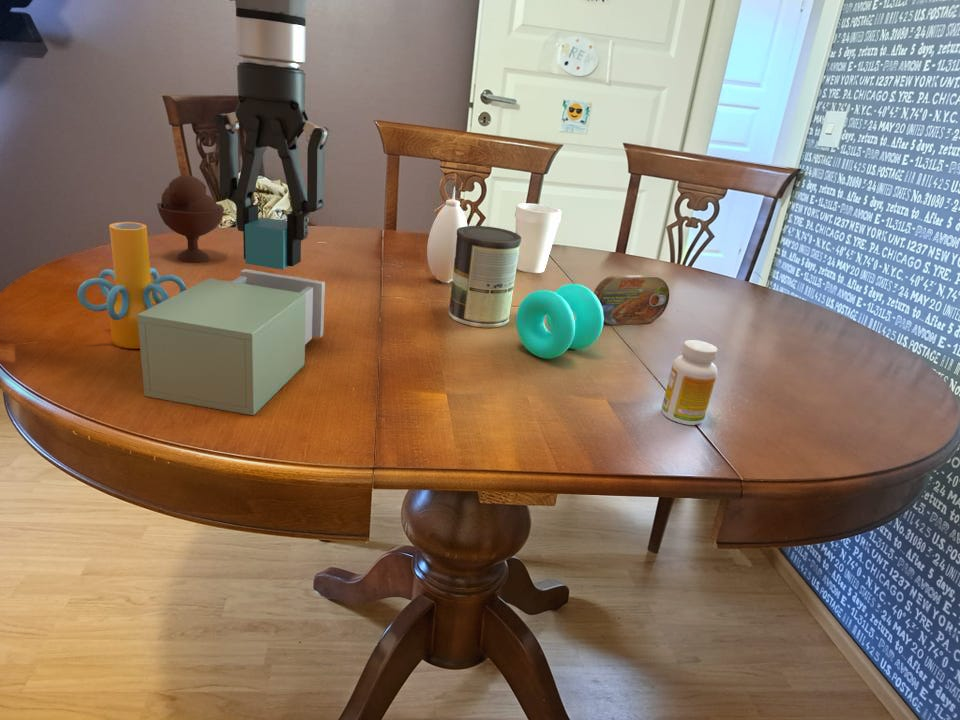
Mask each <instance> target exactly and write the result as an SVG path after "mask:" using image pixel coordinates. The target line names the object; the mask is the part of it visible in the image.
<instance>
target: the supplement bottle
mask: <svg viewBox="0 0 960 720" xmlns="http://www.w3.org/2000/svg"><path fill="white" fill-rule="evenodd" d="M682 345H683V346H682V349H681V354H682V355H679V356H677V357H676V358H675V359H674V360H673V362H672V365H671V369H670V372H669V377H668V381H667V385H666V389H665V392H664V396H663V401H662V404H661V412H662V414H663V416H664V417H666V418H667V419H669V420H671V421H672V422H675V423H679V424H683V425H687V426H695V425H699V424H701V423H703V422H704V420H705V418H706V414H707V412H708V408H709V404H710V400H711V397H712V394H713V390H714V386H715V383H716V379H717V375H718V367H717V365H715V364H714V361H715V360H716V357H717V353H718V348H717V347H716V346H715V345H713V344H711V343H709V342H706V341H702V340H697V339H687V340H685V341H684V342H683V344H682Z"/></svg>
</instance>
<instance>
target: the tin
mask: <svg viewBox="0 0 960 720" xmlns="http://www.w3.org/2000/svg"><path fill="white" fill-rule="evenodd" d="M593 293H594V294H595V295H596V297H597V298H598V300H599V301H600V304H601V306H602V310H603V316H604V322H603V323H605V324H608V325H609V326H621V325H637V324H638V325H639V324H650V323H653V322H654V321H656V320H658V319H659V318H660V317H661V316H662V315H663V314H664V312H665V311H666V309H667V307H668V305H669V301H670V289H669V285H668V284H667V283H666V281H665V280H664V279H662V278H661V277H659V276H654V275H650V274H635V275H611V276H608V277H605V278H604V279H603V280H601V281H600V282H598V284H597V285H596V287H595V289H594V291H593Z"/></svg>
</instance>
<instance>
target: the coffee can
mask: <svg viewBox="0 0 960 720" xmlns="http://www.w3.org/2000/svg"><path fill="white" fill-rule="evenodd" d="M521 239H522V238H521V236H520V235H518V234H516V232H514V231H511V230H508V229H505V228H501V227H494V226H485V225H467V226H464V227H460V228H458V229H457V241H456V251H455V260H454V270H453V280H452V281H451V290H450V298H449V309H448V316H449V318H451V319H452V320H454V321H455V322H457V323H460V324H461V325H465V326H470V327H473V328H474V327H475V328H486V329H489V328H500V327H503V326H505V325H507V324H508V323H509V322H510V315H511V314H510V313H511V307H512V300H513V294H514V288H515V287H514V286H515V281H516V272H517V268H516V267H517V260H518V253H519V246H520V243H521Z"/></svg>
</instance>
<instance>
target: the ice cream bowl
mask: <svg viewBox="0 0 960 720" xmlns="http://www.w3.org/2000/svg"><path fill="white" fill-rule="evenodd" d="M156 207H157V210H158V213H159V216H160V218H161V219H162V222H163V223H164V224H165V225H166V226H167V227H168V228H169V229H170V230H171V231H173V232H174V233H176V234H178V235H181V236H183V237H185V238H186V240H187V248H186V249H185V250H182V251H181V252H179V253H178V254H177V256H176V258H177V260H178V261H181V262H184V263H196V264H197V263H202V262H203V263H204V262H207V261H209V260H210V257H209V254H208V253H207V252H205V251H203V250H201V249H199V242H198V241H199V238H200V237H202V236H204V235H207V234H209V233H210V232H212V231H214V230H215V229H216V228H217V227H218V226H219V225H220V224H221V222H222V219H223V218H224V213H225V208H224V206H222V204H220V203H217V202H216V200H215V198H213V197H212V196H210V195H208V194H207V186H206V185H205V183H204V182H203V181H201V180H200V179H199V178H197V177H196V176H192V175H188V174H187V175H186V174H183V175H182V174H181V175H179V176H177V177H176V178H174V179H171V181H170V182H169V184H168V186H167V187H166V188H165V189H164V191H163V193H161V202H158V203H156Z"/></svg>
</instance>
